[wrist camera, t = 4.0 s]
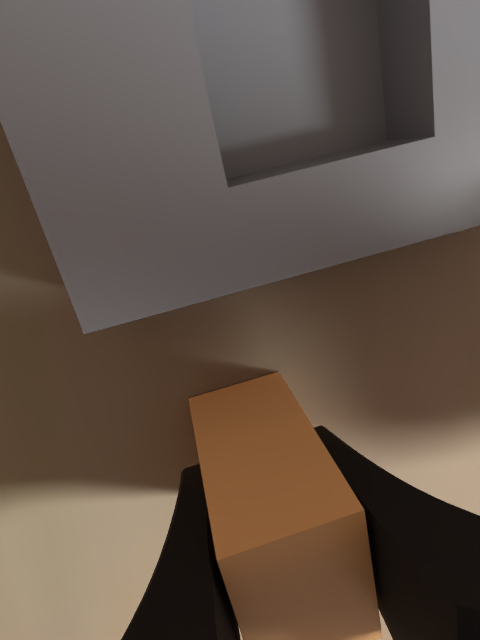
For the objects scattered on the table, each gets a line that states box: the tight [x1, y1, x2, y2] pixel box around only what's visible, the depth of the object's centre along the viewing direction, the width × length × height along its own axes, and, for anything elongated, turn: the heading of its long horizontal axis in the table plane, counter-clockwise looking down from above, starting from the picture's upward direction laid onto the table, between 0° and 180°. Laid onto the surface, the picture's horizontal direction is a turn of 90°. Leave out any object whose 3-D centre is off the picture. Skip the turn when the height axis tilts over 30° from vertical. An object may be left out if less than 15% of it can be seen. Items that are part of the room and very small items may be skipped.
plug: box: [188, 372, 382, 640], centre depth 12 cm, size 3×4×6 cm
